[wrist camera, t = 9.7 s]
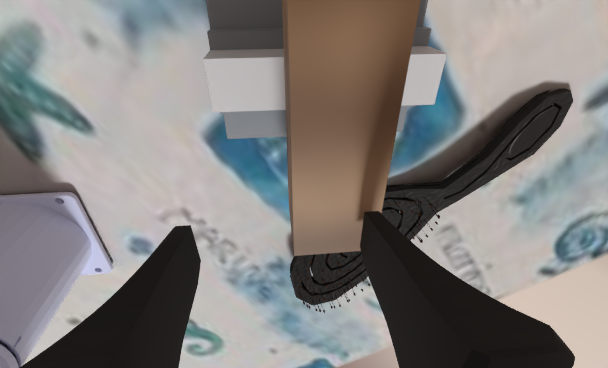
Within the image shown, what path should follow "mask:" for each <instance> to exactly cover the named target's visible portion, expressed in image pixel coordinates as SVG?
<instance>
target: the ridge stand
mask: <svg viewBox="0 0 608 368" xmlns="http://www.w3.org/2000/svg"><path fill="white" fill-rule="evenodd" d="M206 2H207V9H208V15H209V22H210V28H211V29H210V30H209V31H208V39H209V45H210V51H209V52H208V54H207V55H206V56H205V57H204V59H203V60H204V66H205V72H206V78H207V83H208V89H209V95H210V101H211V106H212V112H220V113H224V119H225V126H226V132H227V139H238V138H261V137H284V136H287V131H286V102H285V73H284V44H283V15H282V0H206ZM427 3H428V0H420V6H419V11H418V17H417V22H416V28H415V33H414V38H413V44H412V49H411V55H410V60H409V66H408V71H407V77H406V82H405V87H404V93H403V98H402V104H401V109H400V115H399V120H398V126H397V131H396V132H400V131H402V130H403V125H404V120H405V115H406V110H407V107H410V106H415V105H434V103H435V99H436V95H437V91H438V87H439V83H440V79H441V75H442V71H443V67H444V63H445V59H446V55H447V54H446V53H444V52H441V51H439V50H436V49H434V48H431V47H429V46H428V42H429V38H430V33H431V29H430V28H427V27H424V26H423V23H424V18H425V13H426V8H427Z"/></svg>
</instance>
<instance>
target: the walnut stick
mask: <svg viewBox="0 0 608 368" xmlns="http://www.w3.org/2000/svg"><path fill="white" fill-rule="evenodd" d="M419 6H420V0H282V15H283V44H284V73H285V102H286V131H287V160H288V189H289V210H290V220H291V230H292V240H293V250H294V256H301V255H314V254H327V253H340V252H353V251H361V249H360V241H361V234H362V226H363V218H364V212H369V211H379V212H380V213H382V207H383V202H384V196H385V191H386V185H387V180H388V175H389V169H390V164H391V158H392V153H393V147H394V142H395V136H396V131H397V126H398V120H399V115H400V109H401V104H402V98H403V93H404V87H405V82H406V77H407V71H408V66H409V60H410V55H411V49H412V44H413V38H414V33H415V28H416V22H417V17H418V11H419Z"/></svg>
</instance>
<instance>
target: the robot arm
mask: <svg viewBox="0 0 608 368" xmlns="http://www.w3.org/2000/svg"><path fill="white" fill-rule="evenodd" d="M59 198H60V199H62V200H63V201H62V200H60V199H59ZM360 249H361V253H362V257H363V261H364V265H365V268H366V271H367V274H368V276H369V279H370V281H371V284H372V286H373V289H374V291H375V294H376V296H377V299H378V301H379V304H380V306H381V309H382V312H383V314H384V317H385V320H386V322H387V325H388V329H389V332H390V336H391V339H392V342H393V346H394V349H395V353H396V357H397V361H398V364H399V368H572V367H573V365H574V360H575V356H574V355H573V353H572V352H571V350H570V349H569V348H568V347H567V345H566V344H565V343H564V342H563V341H562V339H561V338H560V337H559V336H558V335H557V333H556V332H555V331H554V330H553V329H552V328H551V327H550V326H549V325H547V324H545V323H543V322H541V321H538V320H536V319H534V318H532V317H530V316H527V315H525V314H523V313H521V312H519V311H516V310H514V309H512V308H510V307H508V306H506V305H505V304H503V303H500V302H499V301H497V300H495V299H493V298H491V297H489V296H488V295H486V294H484V293H482V292H481V291H479V290H477V289H476V288H474V287H472V286H471V285H469V284H467V283H466V282H464V281H462V280H461V279H459V278H458V277H456V276H455V275H453V274H452V273H450V272H449V271H448V270H446V269H445V268H443V267H442V266H440V265H439V264H438V263H436V262H435V261H434V260H432V259H431V258H430V257H429V256H427V255H426V254H425V253H424V252H422V251H421V250H420V249H419V248H418V247H416V246H415V245H414V244H413V243H412V242H411V241H410V240H409V239H407V238H406V237H405V236H404V235H403V234H402V233H401V232H400V231H399V230H398V229H397V228H396V227H395V226H394V225H393V224H392V223H390V222H389V221H388V220H387V219H386V218H385V217H384V216H383V215H382V214H381V213H380V212H379V211H369V212H364V218H363V226H362V234H361V241H360ZM200 262H201V260H200V256H199V253H198V249H197V246H196V242H195V239H194V235H193V232H192V228H191V225H189V226H176V227H174V228H173V229H172V231H171V232H170V233H169V234H168V235H167V237H166V238H165V239H164V240H163V241H162V243H161V244H160V245H159V246H158V247H157V249H156V250H155V251H154V252H153V253H152V255H151V256H150V257H149V258H148V259H147V260H146V261H145V263H144V264H143V265H142V266H141V267H140V268H139V269H138V270H137V271H136V272H135V274H134V275H133V276H132V277H131V278H130V279H129V280H128V281H127V282H126V283H125V284H124V285H123V286H122V287H121V288H120V289H119V290H118V291H117V292H116V293H115V294H114V295H113V296H112V297H111V298H110V299H109V300H107V301H106V302H105V303H104V304H103V305H102V306H101V307H100V308H98V309H97V310H96V311H95V312H94V313H93V314H91V315H90V316H89V317H88V318H86V319H85V320H84V321H83V322H81V323H80V324H79V325H78V326H76V327H75V328H74V329H73V330H72V331H70V332H69V333H68V334H66V335H65V336H64V337H62V338H61V339H60V340H58V341H57V342H56V343H54V344H53V345H52V346H50V347H49V348H47V349H46V350H45V351H43V352H42V353H40V354H39V355H37V356H36V357H35V358H33V359H32V360H30V361H29V362H27V363H26V364H24V362H25V361H26V359H27V357H28V356H29V354H30V353H31V351H32V350H33V348H34V346H35V345H36V343H37V342H38V340H39V339H40V337H41V335H42V334H43V332H44V331H45V329H46V328H47V326H48V324H49V323H50V321H51V320H52V318H53V316H54V315H55V313H56V312H57V310H58V309H59V307H60V305H61V304H62V302H63V301H64V299H65V298H66V296H67V294H68V293H69V291H70V290H71V288H72V287H73V285H74V283H75V282H76V280H77V279H78V277H79V275H91V274H104V273H110V272H111V271H112V269H113V265H112V263H111V261H110V259H109V257H108V255H107V253H106V251H105V249H104V247H103V245H102V243H101V242H100V240H99V238H98V236H97V234H96V232H95V230H94V228H93V226H92V224H91V222H90V220H89V218H88V216H87V214H86V212H85V211H84V209H83V207H82V205H81V203H80V201H79V199H78V197H77V196H76V195H75V194H74V193H71V192H55V193H37V194H19V195H1V196H0V368H178V367H179V361H180V354H181V348H182V344H183V339H184V335H185V331H186V327H187V323H188V320H189V316H190V312H191V308H192V304H193V301H194V297H195V293H196V289H197V285H198V278H199V271H200ZM23 364H24V365H23ZM22 365H23V366H22Z"/></svg>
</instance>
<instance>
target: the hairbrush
mask: <svg viewBox="0 0 608 368" xmlns="http://www.w3.org/2000/svg"><path fill="white" fill-rule="evenodd" d="M549 91H550V90H549ZM549 91H546V92H544V93H541V94H539V95H536V96H535V97H534V98H533V99H532V100H531V101H530V102H529V103H528V104H526V105H525V106H524V107H523V108H522V109H521V110H520V111H519V112H518V113H517V114H516V115H514V116H513V117H512V118H511V119H510V120H509V121H508V122H507V124H506V125H505V126H504V127H503V128H502V129H501V130H500V131H499V132H498V134H497V135H496V136H495V137H494V138H493V139H492V140H491V141H490V142H489V143H488V145H487V146H486V147H485V148H484V149H483V150H482V151H481V152H480V153H479V154H478V155H476V156H475V157H474V158H472V159H471V160H470V161H468V162H467V163H466V164H464V165H463V166H462V167H460V168H459V169H458V170H456V171H455V172H454V173H452V174H451V175H450V176H448V177H447V178H446V179H444V180H443V181H442V182H435V183H424V184H412V185H391V186H393V187H391V186H386V187H390V188H386V191H385V196H384V202H383V207H382V213H381V214H382V215H383V216H384V217H385V218H386V219H387V220H388V221H389V222H390V223H392V224H393V225H394V226H395V227H396V228H397V229H398V230H399V231H400V232H401V233H402V234H403V235H404V236H405V237H406V238H407V239H409V240H411V239H412V238H413V239H414V236H415V235H416V234H417V233H418V232H419V231H420V230H421V229H422V228H423V227H424V226H425V225H426V224H428V223H427V222H428V221H429V220H430V219H431V218H432V217H433V216H434V215H435V214H436V215H437V212H439V211H441V210H443V209H444V208H446V207H448V206H450V205H451V204H453V203H455V202H457V201H458V200H460V199H462V198H463V197H465V196H467V195H468V194H470V193H472V192H473V191H475V190H476V189H478V188H480V187H481V186H483V185H485V184H486V183H488V182H489V181H491V180H493V179H494V178H496V177H498V176H499V175H501V174H502V173H504V172H506V171H507V170H509V169H510V168H512V167H514V166H515V165H517V164H518V163H520V162H522V161H523V160H525V159H527V158H528V157H530V156H531V155H533V154H534V153H535V152H536V151H537V150H538V149H539V148H540V147H541V146H542V145H543V144H544V143H545V142H546V141H547V140H548V139H549V138H550V137H551V135H552V134H553V133H554V132H555V131H556V130H557V129H558V128H559V127H560V126H561V124H562V122H563V120H564V118H565V116H566V114H567V112H568V110H569V108H570V106H571V104H572V103H573V98H572V94H571V90H567V89H558V90H555V91H553V92H551V93H548V94H546V93H547V92H549ZM544 94H546V95H544ZM543 95H544V96H543ZM552 104H554V106H553V105H552ZM416 201H417V202H418V205H417V202H416ZM398 210H400V213H402V214H400V213H399V211H398ZM437 217H438V218H440V216H439V215H438V216H437ZM434 221H435V220H434ZM435 223H436V224H438V223H437V222H435ZM429 227H430V226H429ZM430 229H431V230H433V229H432V228H430ZM423 232H424V231H423ZM416 236H417V235H416ZM426 237H428V236H427V235H426ZM418 239H419V238H418ZM420 239H421V238H420ZM420 239H419V240H420ZM420 242H421V243H422V242H423V240H422V239H421V240H420ZM325 260H327V263H326V261H325ZM310 265H311V271H312V273H313V276H311V273H310ZM290 273H291V275H290V277H291V281H292V284H293V288H294V291H295V295H296V297H297V298H299V299H301V300H303V304H304V305H305V302H307V303H309V304H311V305H314V306H315V305H318V304H321V303H325V302H329V301H333V300H336V299H337V298H339V297H340V296H341V297H342V295H343V294H344V293H346V292H347V291H348V290H350V289H351V288H353V287H354V286H356V287H357V284H358V283H360V282H361V281H364V279H366V277H368V274H367V271H366V268H365V265H364V261H363V257H362V253H361V251H353V252H340V253H327V254H314V255H301V256H294V258H293V260H292V262H291V266H290ZM367 282H368V281H367ZM368 285H369V286H370V284H369V283H368ZM361 290H362V292H363V289H361ZM354 295H355V293H354ZM346 299H347V298H346ZM304 301H305V302H304ZM349 301H350V300H349ZM349 301H348V300H347V302H349ZM307 303H306V304H307ZM329 303H330V302H329ZM332 303H333V302H332ZM321 305H322V304H321ZM330 305H331V304H330ZM339 306H340V307H341V305H340V304H339ZM307 307H308V305H307ZM309 308H310V306H309ZM318 308H319V306H318ZM322 308H323V307H322ZM331 308H332V306H331ZM334 308H335V306H334ZM316 311H317V309H316ZM319 311H320V312H321V310H320V309H319ZM323 312H324V313H325V310H324V309H323Z"/></svg>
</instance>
